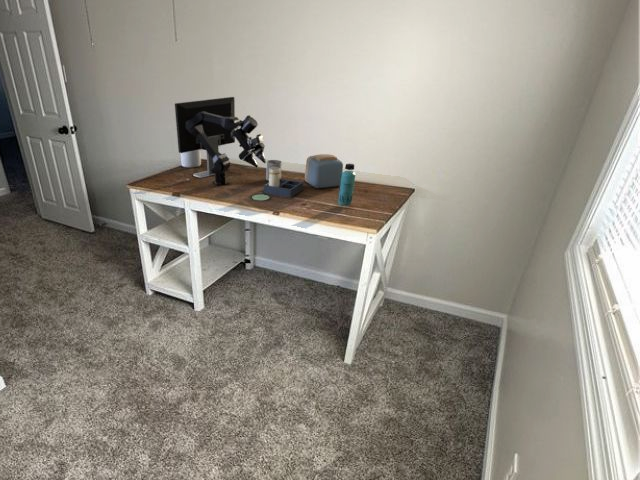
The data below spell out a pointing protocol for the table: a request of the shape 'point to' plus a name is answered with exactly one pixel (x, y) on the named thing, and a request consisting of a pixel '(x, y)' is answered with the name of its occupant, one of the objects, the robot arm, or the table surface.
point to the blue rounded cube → (323, 171)
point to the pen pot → (274, 176)
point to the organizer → (284, 188)
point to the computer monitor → (204, 126)
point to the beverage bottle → (347, 186)
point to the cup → (273, 164)
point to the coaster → (260, 197)
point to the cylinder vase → (191, 159)
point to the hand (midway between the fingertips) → (261, 164)
